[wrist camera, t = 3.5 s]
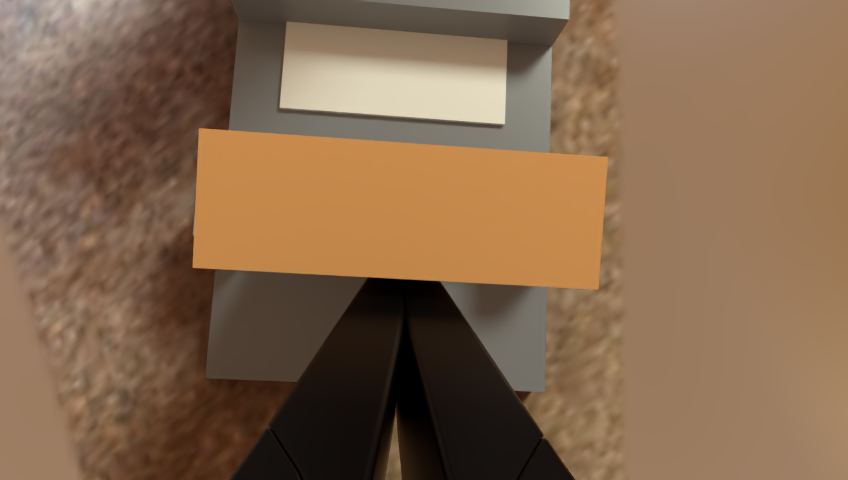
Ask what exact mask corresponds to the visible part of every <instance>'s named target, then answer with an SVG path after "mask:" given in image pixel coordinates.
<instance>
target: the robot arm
mask: <svg viewBox="0 0 848 480" xmlns="http://www.w3.org/2000/svg"><path fill="white" fill-rule="evenodd" d="M395 410H396V416H397V431H398V442H399V452H400V462H401V473H402V480H575V479H574V477H573V476H572V475H571V473H570V472H569V470H568V469H567V468H566V466H565V465H564V464H563V462H562V461H561V459H560V458H559V456H558V455H557V453H556V452H555V450H554V449H553V447H552V446H551V444H550V443H549V441H548V440H547V439H545V438H544V439H543V437H544V435H543V433H542V431H541V430H540V428H539V427H538V425H537V424H536V422H535V421H534V419H533V418H532V416H531V415H530V413H529V412H528V410H527V409H526V407H525V406H524V404H523V403H522V402H521V400H520V399H519V397H518V396H517V394H516V393H515V391H514V390H513V388H512V387H511V385H510V384H509V382H508V381H507V379H506V378H505V376H504V375H503V373H502V372H501V370H500V369H499V367H498V366H497V364H496V363H495V361H494V360H493V359H492V357H491V356H490V354H489V353H488V351H487V350H486V348H485V347H484V345H483V344H482V342H481V341H480V339H479V338H478V336H477V335H476V333H475V332H474V330H473V329H472V327H471V326H470V324H469V323H468V321H467V320H466V318H465V317H464V316H463V314H462V313H461V311H460V310H459V308H458V307H457V305H456V304H455V302H454V301H453V299H452V298H451V296H450V295H449V293H448V292H447V290H446V289H445V287H444V286H443V284H442V283H441V281H429V280H411V279H392V278H374V277H367V279H366V280H365V282H364V283H363V285H362V286H361V288H360V289H359V290H358V292H357V293H356V295H355V296H354V298H353V299H352V301H351V302H350V304H349V305H348V307H347V308H346V310H345V311H344V313H343V314H342V316H341V317H340V319H339V320H338V322H337V323H336V325H335V326H334V328H333V329H332V330H331V332H330V333H329V335H328V336H327V338H326V339H325V341H324V342H323V344H322V345H321V347H320V348H319V350H318V351H317V353H316V354H315V356H314V357H313V359H312V360H311V362H310V363H309V365H308V366H307V368H306V369H305V371H304V372H303V373H302V375H301V376H300V378H299V379H298V381H297V382H296V384H295V385H294V387H293V388H292V390H291V391H290V393H289V394H288V396H287V397H286V399H285V400H284V402H283V403H282V405H281V406H280V408H279V409H278V411H277V412H276V414H275V415H274V416H273V418H272V419H271V421H270V422H269V424H268V429H265V430H264V431H263V432H262V434H261V435H260V437H259V438H258V440H257V441H256V443H255V444H254V446H253V447H252V449H251V450H250V452H249V453H248V454H247V456H246V457H245V458H244V460H243V461H242V463H241V464H240V465H239V467H238V468H237V470H236V471H235V472H234V474H233V475H232V476H231V478H230V479H229V480H385V476H386V470H387V464H388V458H389V451H390V445H391V439H392V433H393V426H394V418H395Z"/></svg>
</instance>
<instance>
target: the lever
mask: <svg viewBox="0 0 848 480" xmlns="http://www.w3.org/2000/svg"><path fill="white" fill-rule="evenodd" d="M607 166H608V157H599V156H585V155H571V154H557V153H543V152H528V151H514V150H500V149H486V148H472V147H458V146H444V145H430V144H415V143H401V142H387V141H373V140H359V139H345V138H331V137H317V136H302V135H288V134H274V133H260V132H246V131H232V130H218V129H204V128H199V139H198V160H197V182H196V204H195V226H194V247H193V268H206V269H225V270H243V271H262V272H280V273H299V274H318V275H336V276H355V277H374V278H392V279H411V280H429V281H448V282H467V283H485V284H504V285H523V286H541V287H560V288H578V289H597V290H598V286H599V273H600V259H601V246H602V233H603V219H604V206H605V192H606V179H607Z"/></svg>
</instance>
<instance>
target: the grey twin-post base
mask: <svg viewBox="0 0 848 480" xmlns="http://www.w3.org/2000/svg"><path fill="white" fill-rule="evenodd" d="M569 1H570V0H231V3H232V5H233V7H234V10H235V12H236V14H237V17H238V19H239V24H238V34H237V45H236V56H235V66H234V77H233V87H232V98H231V108H230V119H229V130H232V131H246V132H260V133H274V134H288V135H302V136H317V137H331V138H345V139H359V140H373V141H387V142H401V143H415V144H430V145H444V146H458V147H472V148H486V149H500V150H514V151H528V152H543V153H550V111H551V60H552V45H553V44H554V42H555V40H556V39H557V37H558V36H559V34H560V33H561V31H562V30H563V28H564V27H565V25H566V24H567V22H568V20H569ZM194 226H195V216H194ZM194 226H193V236H194ZM366 279H367V277H355V276H336V275H318V274H299V273H280V272H262V271H243V270H225V269H215V278H214V288H213V299H212V310H211V320H210V331H209V341H208V352H207V362H206V373H205V378H209V379H234V380H259V381H283V382H297V381H298V379H299V378H300V376H301V375H302V373H303V372H304V371H305V369H306V368H307V366H308V365H309V363H310V362H311V360H312V359H313V357H314V356H315V354H316V353H317V351H318V350H319V348H320V347H321V345H322V344H323V342H324V341H325V339H326V338H327V336H328V335H329V333H330V332H331V330H332V329H333V328H334V326H335V325H336V323H337V322H338V320H339V319H340V317H341V316H342V314H343V313H344V311H345V310H346V308H347V307H348V305H349V304H350V302H351V301H352V299H353V298H354V296H355V295H356V293H357V292H358V290H359V289H360V288H361V286H362V285H363V283H364V282H365V280H366ZM441 283H442V284H443V286H444V287H445V289H446V290H447V292H448V293H449V295H450V296H451V298H452V299H453V301H454V302H455V304H456V305H457V307H458V308H459V310H460V311H461V313H462V314H463V316H464V317H465V318H466V320H467V321H468V323H469V324H470V326H471V327H472V329H473V330H474V332H475V333H476V335H477V336H478V338H479V339H480V341H481V342H482V344H483V345H484V347H485V348H486V350H487V351H488V353H489V354H490V356H491V357H492V359H493V360H494V361H495V363H496V364H497V366H498V367H499V369H500V370H501V372H502V373H503V375H504V376H505V378H506V379H507V381H508V382H509V384H510V385H511V387H512V388H513V390H514V391H532V392H545V366H546V315H547V287H541V286H523V285H504V284H485V283H467V282H448V281H441Z"/></svg>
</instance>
